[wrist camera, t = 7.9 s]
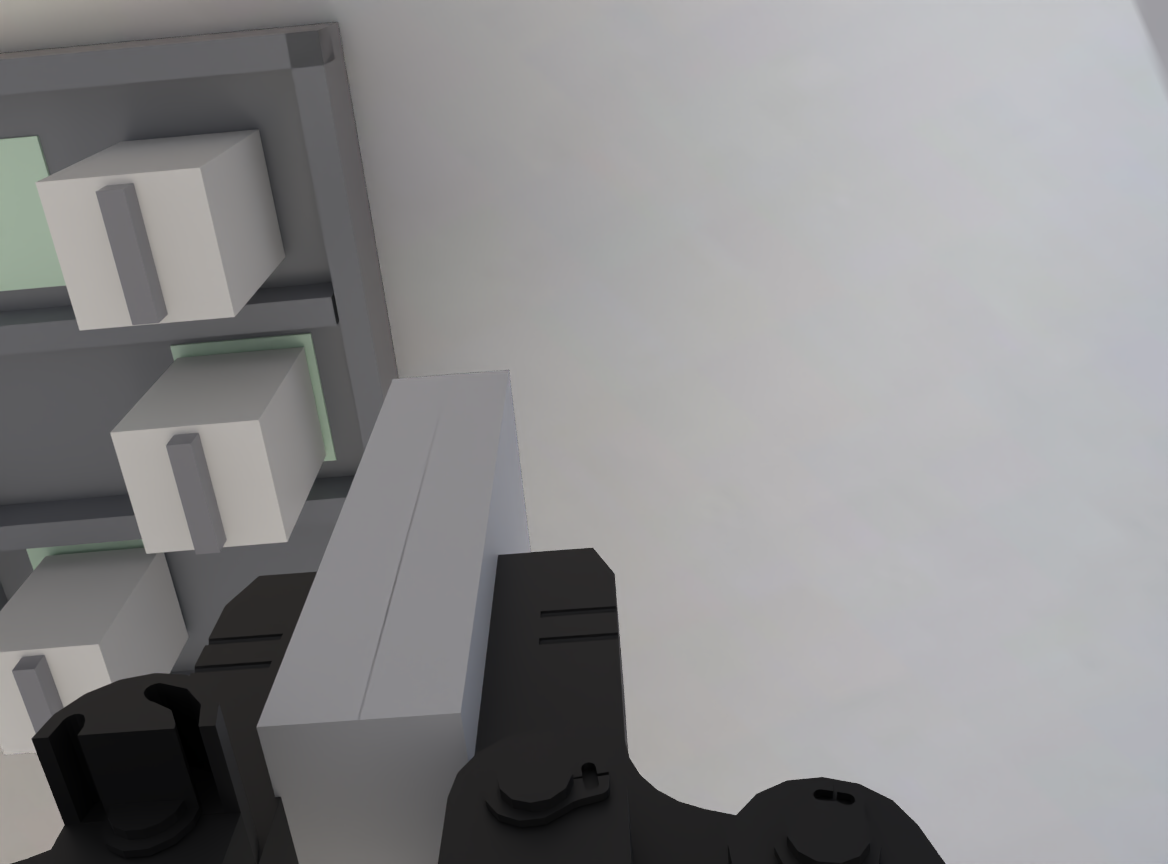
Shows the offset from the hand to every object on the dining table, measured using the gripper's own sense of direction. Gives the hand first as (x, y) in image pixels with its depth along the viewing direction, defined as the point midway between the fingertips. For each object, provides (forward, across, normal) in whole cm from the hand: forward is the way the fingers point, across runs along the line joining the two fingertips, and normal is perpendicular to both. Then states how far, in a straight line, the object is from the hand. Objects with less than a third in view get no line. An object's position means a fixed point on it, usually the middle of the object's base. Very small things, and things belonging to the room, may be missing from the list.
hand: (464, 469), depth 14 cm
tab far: (+16, -14, -12) cm, 24 cm away
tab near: (+16, -8, 0) cm, 18 cm away
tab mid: (+16, -8, -6) cm, 19 cm away
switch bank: (+17, -11, -6) cm, 21 cm away
